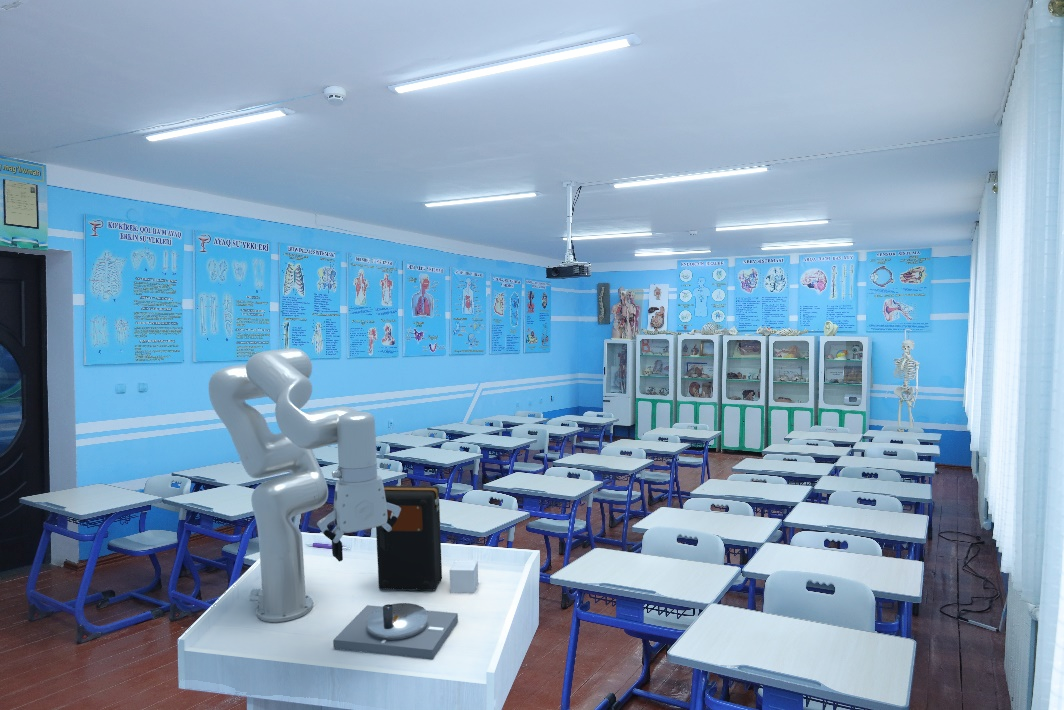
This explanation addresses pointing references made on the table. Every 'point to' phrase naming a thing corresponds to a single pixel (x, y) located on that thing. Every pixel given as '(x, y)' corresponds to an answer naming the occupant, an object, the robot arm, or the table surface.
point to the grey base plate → (414, 646)
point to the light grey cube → (463, 576)
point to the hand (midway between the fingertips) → (361, 553)
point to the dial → (397, 621)
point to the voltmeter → (412, 540)
